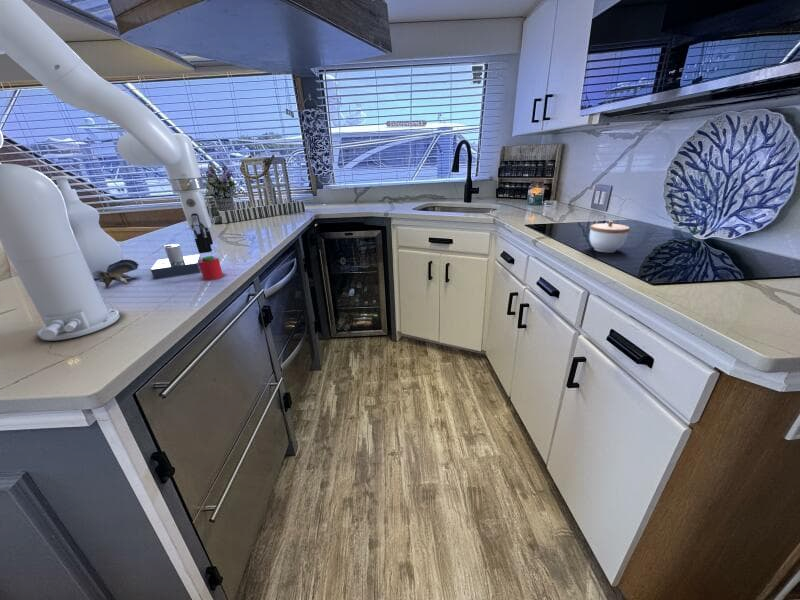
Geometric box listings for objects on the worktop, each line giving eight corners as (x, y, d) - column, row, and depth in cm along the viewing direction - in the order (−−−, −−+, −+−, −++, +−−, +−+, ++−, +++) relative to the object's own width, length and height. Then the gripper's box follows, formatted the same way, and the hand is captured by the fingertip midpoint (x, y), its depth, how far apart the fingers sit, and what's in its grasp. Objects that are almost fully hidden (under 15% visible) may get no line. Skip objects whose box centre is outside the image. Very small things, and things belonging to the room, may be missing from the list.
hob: (199, 272, 100) (196, 262, 99) (154, 279, 96) (150, 269, 94) (202, 262, 110) (199, 253, 109) (160, 268, 106) (157, 259, 104)
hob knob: (184, 258, 104) (179, 242, 102) (183, 261, 101) (177, 245, 99) (170, 260, 103) (165, 244, 101) (168, 263, 99) (162, 247, 97)
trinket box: (631, 253, 100) (639, 223, 97) (596, 254, 101) (603, 224, 97) (611, 245, 110) (618, 217, 106) (580, 246, 111) (585, 219, 107)
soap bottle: (99, 283, 94) (53, 176, 83) (59, 285, 94) (6, 178, 82) (139, 266, 110) (104, 174, 98) (104, 267, 109) (65, 175, 98)
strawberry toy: (222, 277, 94) (217, 258, 92) (202, 281, 92) (196, 260, 90) (223, 273, 99) (217, 254, 96) (203, 276, 97) (198, 256, 94)
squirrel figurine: (123, 284, 89) (146, 268, 96) (97, 265, 86) (124, 250, 93) (110, 297, 91) (134, 281, 99) (85, 279, 88) (112, 263, 96)
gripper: (201, 186, 80) (220, 253, 87) (205, 183, 94) (221, 240, 101) (166, 189, 77) (188, 258, 84) (175, 185, 91) (194, 244, 98)
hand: (206, 248), depth 92 cm, fingers open, 9 cm apart
